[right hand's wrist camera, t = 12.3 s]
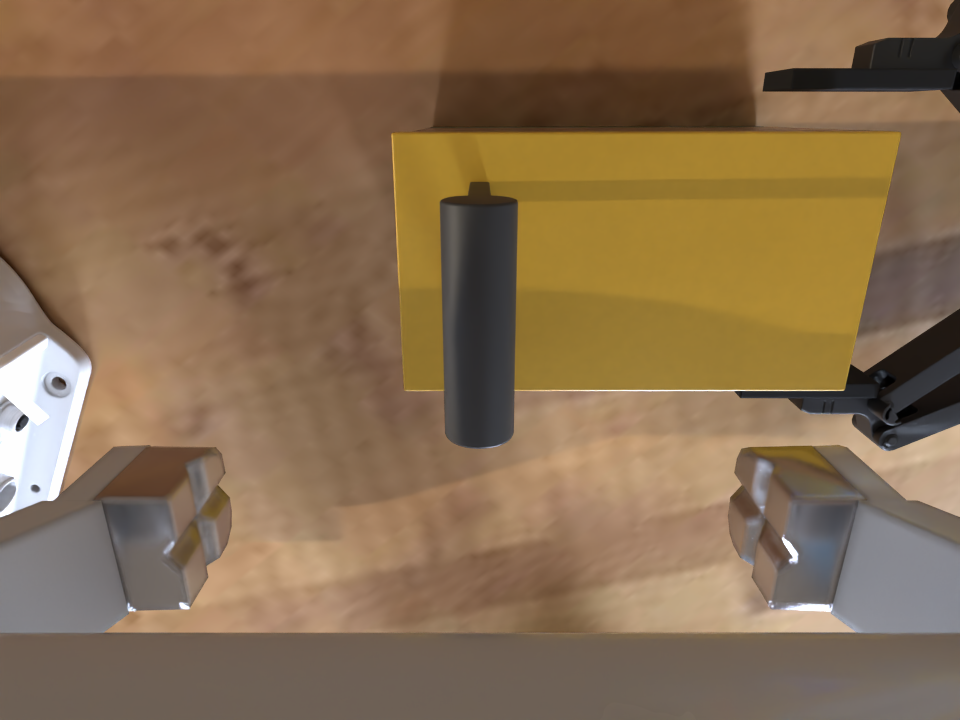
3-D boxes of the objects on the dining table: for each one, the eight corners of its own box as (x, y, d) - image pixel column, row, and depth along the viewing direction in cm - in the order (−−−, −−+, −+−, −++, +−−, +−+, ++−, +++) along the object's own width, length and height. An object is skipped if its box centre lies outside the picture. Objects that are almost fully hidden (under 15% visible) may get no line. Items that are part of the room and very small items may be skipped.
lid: (407, 379, 27) (374, 495, 19) (395, 131, 23) (348, 139, 15) (829, 379, 27) (982, 495, 18) (881, 131, 23) (1099, 138, 15)
